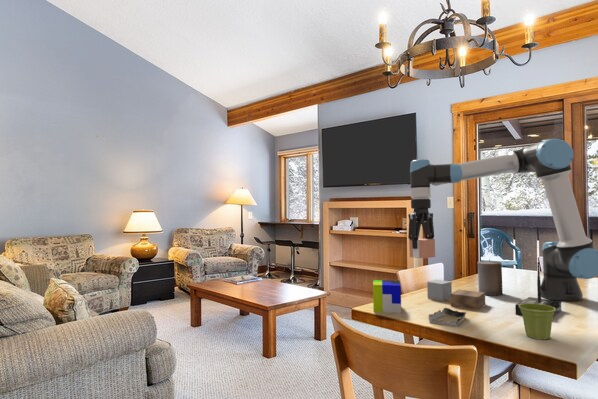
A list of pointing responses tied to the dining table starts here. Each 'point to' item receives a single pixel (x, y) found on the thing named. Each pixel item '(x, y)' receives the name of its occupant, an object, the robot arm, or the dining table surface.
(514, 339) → the dining table surface
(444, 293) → the slate grey cube
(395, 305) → the puzzle toy
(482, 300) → the walnut base block
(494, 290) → the pillar candle
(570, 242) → the robot arm
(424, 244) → the terracotta cube
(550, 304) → the wireless controller
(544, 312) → the plant pot
